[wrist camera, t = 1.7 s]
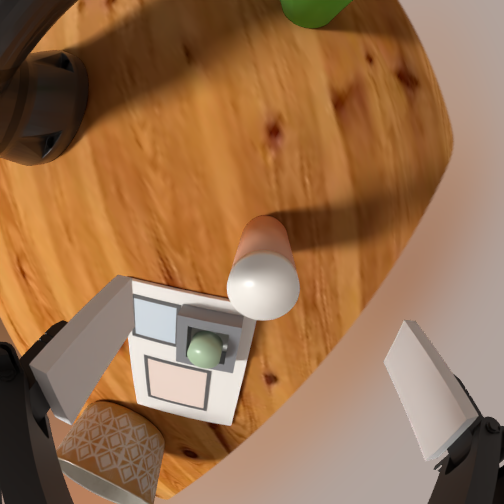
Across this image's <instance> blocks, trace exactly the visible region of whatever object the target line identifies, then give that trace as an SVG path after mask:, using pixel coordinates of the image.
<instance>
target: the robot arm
mask: <svg viewBox="0 0 504 504" xmlns="http://www.w3.org/2000/svg"><path fill="white" fill-rule="evenodd" d="M77 1H78V0H0V158H3V159H6V160H9V161H12V162H16V163H19V164H22V165H27V166H32V165H39V164H45V163H48V162H50V161H52V160H54V159H55V158H57V157H58V156H59V155H60V154H61V153H62V152H63V151H64V150H65V149H66V148H67V146H68V145H69V144H70V142H71V141H72V139H73V138H74V136H75V134H76V132H77V130H78V128H79V126H80V123H81V121H82V118H83V115H84V112H85V108H86V104H87V98H88V76H87V72H86V69H85V66H84V64H83V63H82V61H81V60H80V59H79V58H78V57H76V56H75V55H72V54H70V53H67V52H64V51H60V50H51V51H43V52H36V53H30V52H31V51H32V50H33V48H34V47H35V46H36V45H37V43H38V42H39V41H40V40H41V39H42V37H43V36H44V35H45V34H46V33H47V31H48V30H49V29H50V28H51V27H52V26H53V25H54V24H55V23H56V21H57V20H58V19H59V18H60V17H61V16H62V15H63V14H64V13H65V12H66V11H67V10H68V9H69V8H70V7H71V6H73V5H74V4H75V3H76V2H77ZM134 327H135V323H134V309H133V290H132V278H130V277H126V276H121V275H117V276H116V277H115V278H114V279H113V280H112V281H110V282H109V283H108V284H107V285H106V286H105V287H104V288H103V289H102V290H101V291H100V292H99V293H98V294H97V295H96V296H95V297H93V298H92V299H91V300H90V301H89V302H88V303H87V304H86V305H85V306H84V307H83V308H82V309H81V310H80V311H79V312H78V313H77V314H76V315H75V316H74V317H73V318H72V319H71V320H70V321H69V322H66V321H64V320H62V321H60V322H58V323H56V324H54V325H52V326H51V327H50V328H49V329H48V330H47V331H46V332H45V335H44V334H43V335H42V336H41V337H40V338H39V341H38V340H37V341H36V342H35V343H34V345H33V346H32V347H31V348H30V349H29V350H28V351H27V352H26V353H25V354H24V355H23V356H22V357H21V358H20V359H19V358H18V356H17V354H16V351H15V349H14V347H13V346H12V345H11V344H9V343H7V342H0V504H2V494H3V498H4V502H5V504H74V503H73V501H72V498H71V496H70V493H69V490H68V488H67V485H66V482H65V479H64V476H63V473H62V470H61V467H60V463H59V460H58V456H57V453H56V449H55V445H54V441H53V437H52V433H51V428H50V423H49V419H48V416H47V414H46V413H47V412H48V410H49V409H50V408H51V410H52V412H53V413H54V415H55V417H57V418H58V419H60V420H62V421H64V422H66V423H68V424H70V425H72V424H73V422H74V421H75V419H76V417H77V415H78V414H79V412H80V410H81V409H82V407H83V405H84V404H85V402H86V401H87V399H88V397H89V396H90V394H91V392H92V391H93V389H94V388H95V386H96V384H97V383H98V381H99V380H100V378H101V377H102V375H103V373H104V372H105V370H106V369H107V367H108V366H109V364H110V363H111V361H112V359H113V358H114V356H115V355H116V353H117V352H118V350H119V349H120V347H121V346H122V344H123V343H124V341H125V340H126V338H127V337H128V336H129V334H130V333H131V331H132V330H133V328H134ZM384 364H385V366H386V369H387V371H388V373H389V375H390V377H391V379H392V382H393V384H394V386H395V388H396V390H397V393H398V395H399V397H400V399H401V402H402V404H403V407H404V409H405V411H406V414H407V416H408V419H409V421H410V423H411V426H412V428H413V431H414V433H415V436H416V439H417V441H418V443H419V446H420V449H421V452H422V454H423V457H424V459H425V461H428V460H432V459H435V458H438V457H439V456H440V455H441V454H443V453H444V452H445V451H446V450H448V453H449V454H448V455H447V456H446V457H445V458H444V459H443V460H441V461H440V462H439V463H438V464H437V465H436V466H435V468H434V470H436V469H437V468H438V467H439V466H440V465H442V467H441V468H440V469H439V470H438V471H439V472H440V473H439V476H438V479H437V482H436V484H435V487H434V490H433V492H432V495H431V498H430V499H429V502H428V504H504V465H503V466H502V467H501V468H500V467H499V463H500V462H501V461H503V460H504V426H500V424H499V423H498V422H497V420H495V419H494V418H492V417H485V418H484V417H483V416H482V414H481V412H480V411H479V409H478V407H477V406H476V404H475V403H474V401H473V399H472V397H471V396H469V393H468V391H467V389H466V390H465V386H464V385H463V383H462V382H461V380H460V379H459V378H458V377H456V376H455V375H454V374H453V373H452V372H451V370H450V369H449V367H448V366H447V364H446V363H445V362H444V360H443V358H442V357H441V355H440V354H439V353H438V351H437V350H436V348H435V347H434V346H433V344H432V343H431V341H430V340H429V339H428V337H427V336H426V334H425V333H424V332H423V331H422V329H421V328H420V326H419V325H418V324H417V322H416V321H410V320H404V321H403V324H402V326H401V328H400V330H399V332H398V334H397V336H396V339H395V340H394V342H393V345H392V346H391V348H390V350H389V352H388V354H387V356H386V358H385V360H384ZM1 490H2V492H1Z"/></svg>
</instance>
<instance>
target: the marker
mask: <svg viewBox="0 0 504 504" xmlns="http://www.w3.org/2000/svg"><path fill="white" fill-rule="evenodd" d="M299 291H300V285H299V280H298V276H297V272H296V267H295V263H294V259H293V255H292V251H291V247H290V243H289V239H288V235H287V231H286V229H285V227H284V226H283V225H282V224H281V223H280V221H278V220H277V219H276V218H274V217H272V216H268V215H262V216H258V217H255V218H254V219H252V220H251V221H250V222H249V223H248V224H247V225H246V226H245V228H244V230H243V233H242V236H241V239H240V242H239V246H238V249H237V252H236V255H235V259H234V262H233V265H232V268H231V272H230V275H229V278H228V282H227V293H228V297H229V300H230V302H231V304H232V305H233V306H234V308H235V309H236V310H237V311H238V312H240V313H241V314H243V315H244V316H246V317H248V318H251V319H255V320H272V319H276V318H279V317H281V316H283V315H284V314H286V313H287V312H288V311H290V310H291V309H292V307H293V306H294V305H295V303H296V301H297V299H298V296H299Z"/></svg>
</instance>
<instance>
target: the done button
mask: <svg viewBox="0 0 504 504" xmlns="http://www.w3.org/2000/svg"><path fill="white" fill-rule="evenodd" d="M222 348H223V342H222V340H221V338H220V337H219V336H218V335H217V334H215V333H213V332H210V331H200V332H197V333H196V334H195V335H194V336H193V338H192V340H191V343H190V346H189V348H188V351H187V356H188V359H189V360H190V362H191V363H193V364H194V365H195V366H197V367H200V368H205V369H209V368H213V367H215V366H217V365H218V364H219V362H220V357H221V353H222Z"/></svg>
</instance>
